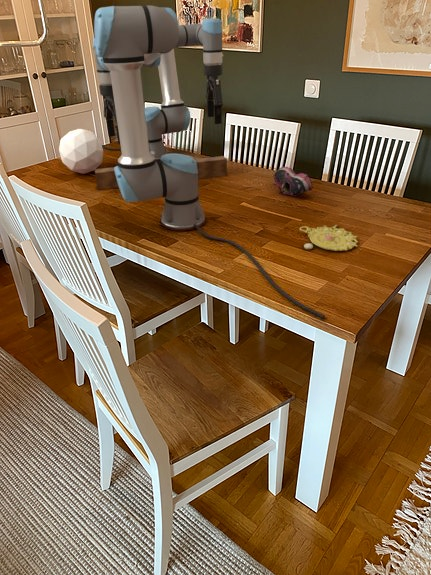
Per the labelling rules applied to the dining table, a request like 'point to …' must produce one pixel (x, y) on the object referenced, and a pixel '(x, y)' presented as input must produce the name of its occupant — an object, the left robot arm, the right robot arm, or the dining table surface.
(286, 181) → the athletic shoe
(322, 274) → the dining table surface
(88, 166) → the sphere
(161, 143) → the left robot arm
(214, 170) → the bar
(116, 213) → the dining table surface
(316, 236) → the decorative object
